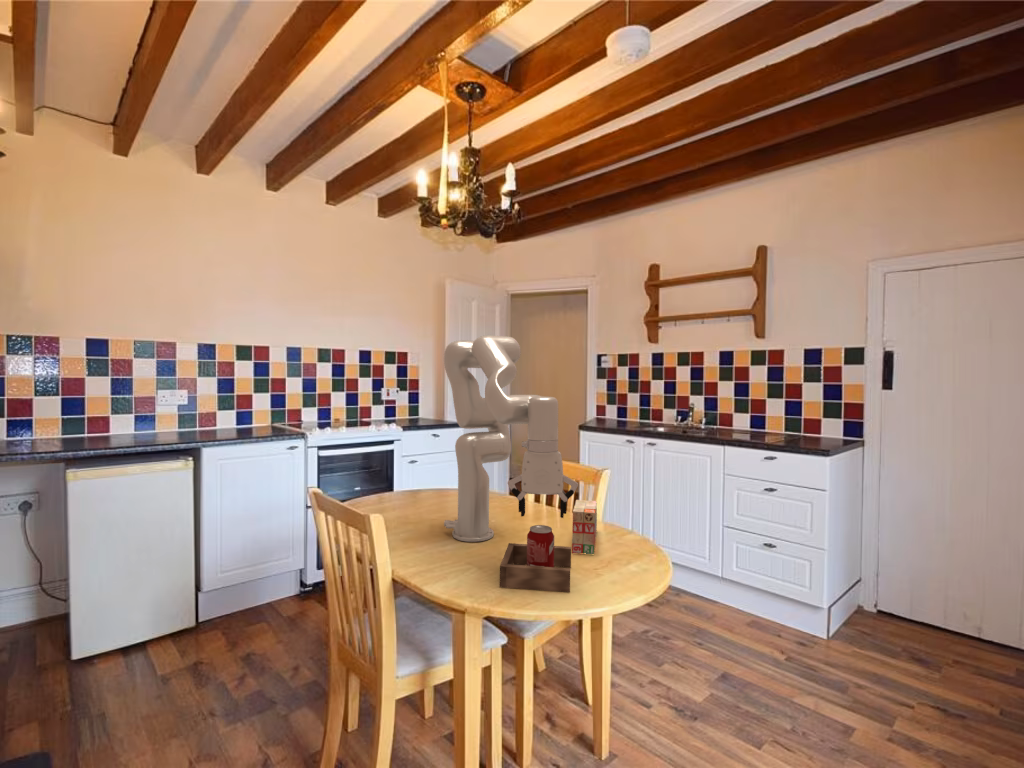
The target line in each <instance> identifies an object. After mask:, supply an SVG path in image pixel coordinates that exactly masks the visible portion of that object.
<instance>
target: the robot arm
mask: <svg viewBox="0 0 1024 768" xmlns="http://www.w3.org/2000/svg"><path fill="white" fill-rule="evenodd" d="M520 358H521V346H520V344H519V342H518V341H517V340H516V339H515V338H514V337H512V336H508V335H507V336H506V335H491V334H490V335H489V334H487V335H482V336H479V337H477V338H476V339H475V340H468V339H467V340H462V339H461V340H456V341H452V342H450V343H449V344H448V345H447V346H446V348H445V349H444V354H443V366H444V369H445V373H446V376H447V378H448V380H449V383H450V386H451V392H452V400H453V407H454V414H455V419H456V423H457V425H458V426H459V428H462V429H469V430H471V429H487V430H488V431H477V432H476V431H474V432H473V431H472V432H467V433H464V434H462V435H460V436H459V437H457V439H456V441H455V445H454V446H455V447H454V449H455V456H456V462H457V474H458V475H457V479H458V480H457V519H454V520H451V519H445V520H444V521H443V526H444V527H445V528H446V529H453V531H452V537H453V538H454V539H456V540H457V541H460V542H466V543H467V542H468V543H475V542H477V543H478V542H483V541H484V542H485V541H488V540H490V539H492V538H493V537H494V533H495V532H494V530H493V529H492V528H490V522H489V521H490V476H489V473H488V472H487V471H486V469H485V468H484V465H483V464H487V463H489V464H490V463H498V462H503V461H506V460H508V459H509V457H510V455H511V453H512V442H511V435H510V434H511V433H510V429H509V425H523V424H524V425H527V439H526V440H525V441H521V448H525V449H526V451H524V453H523V459H522V465H521V474H519V475H516V476H515V477H512V478H511V479H509V480H508V481H507V485H508V487H509V489H510V491H511V493H512V494H513V495H514V496H515V497H516V499H517V500H518V513H520V517H525V514H526V498H525V496H526V495H527V494H528V495H553V496H554V495H558V496H559V498H560V502H559V503H560V504H559V505H560V506H559V507H560V508H559V509H560V511H559V513H560V514H559V515H560V516H559V517H560V518H561V519H564V515H566V514H567V501H568V500H569V499H570V498H571V497H573V496H574V494H575V492H576V490H577V488H578V486H579V483H578V482H577V481H576V480H573V479H571V478H570V477H568V476H566V475H564V465H563V457H562V453H561V452H560V451H559V401H558V399H557V398H556V397H554V396H543V395H539V394H506V393H505V392H504V391H503V388H505V387H507V386H508V385H510V384H511V383H512V382H513V381H514V380H515V378H516V376H517V375H518V374H517V373H518V369H517V366H516V363H518V362H519V360H520ZM468 369H481V370H482V372H483V373H484V375H485V376H486V378H487V380H486V382H485V383H486V384H485V385H484V397H482V396H481V393H480V391H481V390H480V385H479V382H478V380H477V379H476V378H475V376H474V375H473V374H472V372H470V371H469V370H468ZM519 482H521V484H520V485H521V491H520V490H519V489H518V488H517V487H516V484H517V483H519ZM564 483H566V484H568V485H569V486H570V488H569V489H568V490H567V492H565V491H564Z"/></svg>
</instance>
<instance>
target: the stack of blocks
mask: <svg viewBox="0 0 1024 768" xmlns="http://www.w3.org/2000/svg"><path fill="white" fill-rule="evenodd" d="M597 518H598V505H597V501H596V500H585V499H576V500H575V503H574V506H573V510H572V525H571V526H572V532H571V533H572V537H571V538H572V542H571V554H573V553H586V554H594V555H595V551H596V544H595V543H597V542H596V539H597V532H596V531H597V529H598V528H597V524H598V523H597V521H598V519H597ZM594 550H595V551H594Z"/></svg>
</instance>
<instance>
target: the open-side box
mask: <svg viewBox="0 0 1024 768" xmlns="http://www.w3.org/2000/svg"><path fill="white" fill-rule="evenodd" d="M571 566H572V546H563V545H554V567H541V566H527V543H512V542H509V543H508V544H507V546H506V549H505V552H504V555H503V557H502V559H501V563H500V565H499V588H508V589H520V590H533V591H535V590H536V591H547V592H549V591H550V592H561V593H562V592H563V593H570V592H571V568H572V567H571Z"/></svg>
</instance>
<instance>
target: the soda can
mask: <svg viewBox="0 0 1024 768" xmlns="http://www.w3.org/2000/svg"><path fill="white" fill-rule="evenodd" d="M526 544H527V565H526V566H541V567H554V546H555V534H554V532H553V529H552V527H551V526H549V525H544V524H537V525H531V526H530V527H529V531H528V533H527V535H526Z"/></svg>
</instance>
